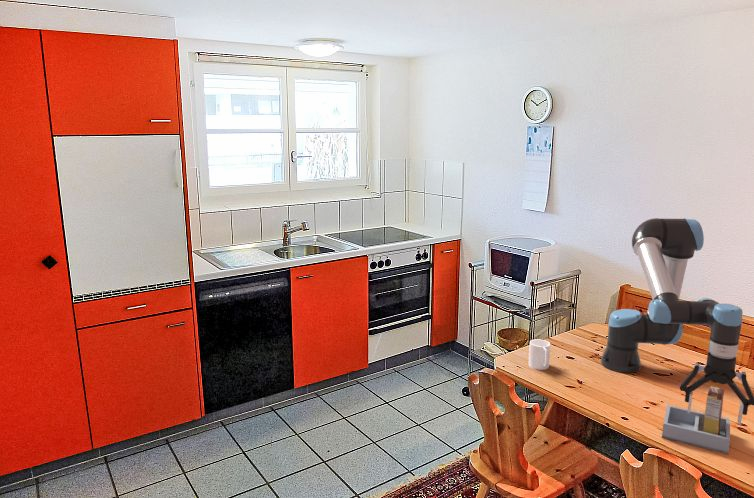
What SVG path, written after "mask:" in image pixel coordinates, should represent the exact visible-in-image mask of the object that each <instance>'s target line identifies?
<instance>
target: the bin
mask: <svg viewBox="0 0 754 498" xmlns="http://www.w3.org/2000/svg"><path fill="white" fill-rule="evenodd" d="M687 412H688V408H683V407H678V406H674V405H670V404H667V405H666V409H665V414H664V420H663V425H662V432H661V439H666V440H669V441H673V442H677V443H681V444H684V445H688V446H692V447H696V448H701V449H704V450H709V451H713V452H716V453H721V454H724V455H729V450H730V443H731V418H728V417H722V416H721V424H720V433H719V435H715V434H711V433H706V432H703V428H704V419H705V412H701V411H697V410H690V413H687Z"/></svg>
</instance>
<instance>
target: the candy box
mask: <svg viewBox="0 0 754 498" xmlns="http://www.w3.org/2000/svg"><path fill="white" fill-rule="evenodd" d="M724 393H725V388H720V387H717V386H712V385H711V386H709V389H708V391H707V394H706V401H705V410H704V413H705V419H704V428H703V432H706V433H711V434H715V435H719V433H720V424H721V417H722V414H723V413H722V412H723V404H724V402H723V401H724V395H725V394H724Z"/></svg>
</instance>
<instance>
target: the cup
mask: <svg viewBox="0 0 754 498" xmlns="http://www.w3.org/2000/svg"><path fill="white" fill-rule="evenodd" d="M550 353H551V343H550V342H549V341H548V340H545V339H539V338H537V339H535V338H534V339H531V340H530V341H529V350H528V366H529V368H531V369H534V370H538V371H541V370H542V371H544V370H547V369H549V368H550V358H551V357H550V355H551V354H550Z"/></svg>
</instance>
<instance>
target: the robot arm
mask: <svg viewBox="0 0 754 498" xmlns="http://www.w3.org/2000/svg"><path fill="white" fill-rule="evenodd" d="M704 237H705V236H704V231H703V228H702V225H701V223H700V222H699V221H698V220H696V219H693V218H692V219H690V218H658V217H655V218H649V219H647V220H644V221H643V222H641V224H639V225H638V226H637V227H636V228H635V230H634V232H633V234H632V237H631V246H632V251H633V253H634V254H635V256H638V260H639V262H640V265H641V269H642V271H643V275H644V278H645V280H646V283H647V286H648V289H649V292H650V296H651V298H652V300H650V302H649V304H648V309H647V311H646V314H642V313H641V311H639V310H637V309H631V308H620V309H616V310H614V311H612V312H611V313H610V315H609V320H608V331H607V343H606V347H605V349H604V351H603V353H602V355H601V359H600V362H601V366H603V367H604V368H607V369H609V370H611V371H613V372H618V373H630V374H631V373H637V372H639V371H640V370H641V367H642V361H641V358H640V354H639V353H640V352H639V351H638V350H639V349H638V348H639V344H653V345H654V344H655V345H656V344H657V345H664V346H665V345H675V344H677V343H678V342H679V341H680V340H681V338H682V336H683V331H684V329H683V327H684V325H696V326H698V325H699V326H707V327H708V328H709V329H710V333H709V335H710V336H709V340H708V350H707V351H708V352H707V357H706V364H705V366H704V365H700V364H699V363H698V362H696V363H694V366H693V369H692V370H691V371H690V372H689V374H687V376H686V377H685V378H684V380H683V381H682V382H681V383H680V385H679V390H680V391H683V392H685V395H684V402H686V403H687V405H688V407H687V409H688V412H687V413H690V410H691V408H692V402H693V401H692V400H693V394H694V391H696V389H698V388H700V387H701V386H703V385H705V384H707V383H708V382H710V381H711V383H715V384H721V385H728V387H729V388H730V389H731V390H732V391H733V393H734V394H735V395H736V396H737V397H738V399H739V401H740V403H739V404H740V405H739V409H738V415H737V416H738V417H737V425H739V426H741V425H742V420H743V419H742V418H743V415H744V416H747V414H748V408H749V406H754V393H753V392H752V389H751V386H750V384H749V382H748V379H747V373H746V372H745V371H742V372H738V371H737V372H736V364H737V356H738V349H739V345H740V344H739V341H740V335H741V331H742V324H743V309H742V308H741V307H740V306H737V305H734V304H732V303H719V302H718V301H716V300H714V299H712V298H707V297H704V298H701V299H698V300H697V301H696V300H694V301H693V300H680V298H681V290H682V286H683V283H684V278H685V275H686V274H685V273H686V270H687V265H688V261H689V260H691V259H692V258H693V257H694V255H695V251H696V252H698V251H701V250H702V248H703V247H704V241H705V240H704V239H705V238H704ZM702 371H704V373H705V374H704V375H703V376H702V377H700V378H699V379H698V380H696V381H694V382H693V383H691V382H692V381H693V380H694V378H695V377H696V376H697V375H698V373H701V372H702ZM736 377H737V379H738V380H739V381H741V384H742V386H743V389H744V391H745V393H746V396H747V397H748V398H747V397H746V396H745V394H744V393H743V392H742V391H741V389H740V388H739V387H738V385H737V384H736V383H735V381H734V379H735V378H736ZM690 383H691V384H690ZM688 385H689V386H688Z"/></svg>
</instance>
